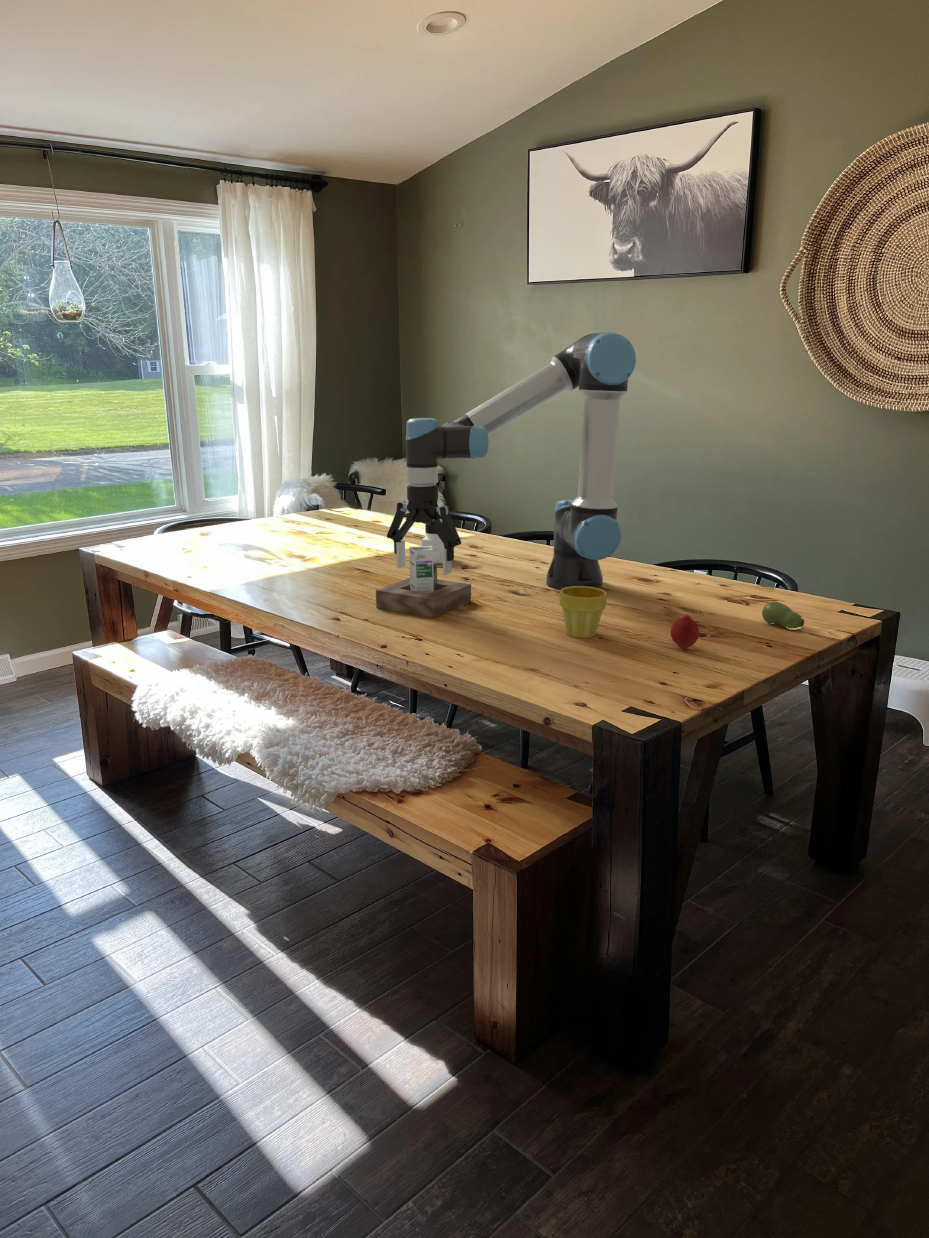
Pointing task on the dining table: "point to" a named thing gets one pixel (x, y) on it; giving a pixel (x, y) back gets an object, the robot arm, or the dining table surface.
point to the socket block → (423, 598)
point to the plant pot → (582, 609)
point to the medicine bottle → (433, 541)
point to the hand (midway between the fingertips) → (423, 570)
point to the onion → (684, 631)
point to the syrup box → (423, 569)
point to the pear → (781, 615)
